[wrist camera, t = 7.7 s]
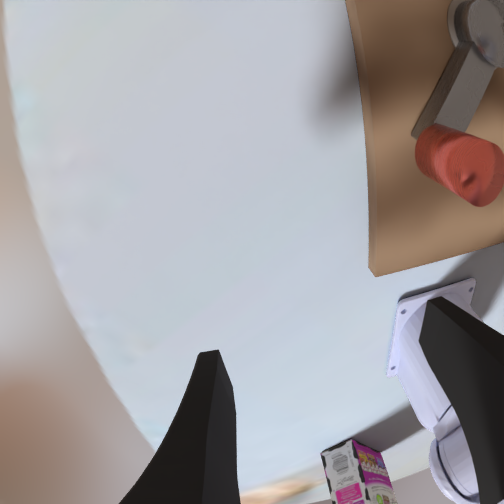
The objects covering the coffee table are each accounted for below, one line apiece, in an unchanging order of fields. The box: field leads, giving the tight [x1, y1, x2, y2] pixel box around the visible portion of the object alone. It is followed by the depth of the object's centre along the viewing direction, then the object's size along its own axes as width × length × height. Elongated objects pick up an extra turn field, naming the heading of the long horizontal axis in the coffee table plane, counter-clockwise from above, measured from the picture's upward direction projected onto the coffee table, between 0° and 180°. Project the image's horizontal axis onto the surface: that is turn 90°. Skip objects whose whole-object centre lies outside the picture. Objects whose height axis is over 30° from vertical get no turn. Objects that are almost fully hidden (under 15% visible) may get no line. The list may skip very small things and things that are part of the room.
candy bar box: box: [321, 439, 398, 504], centre depth 30 cm, size 11×5×16 cm, turn 40°
